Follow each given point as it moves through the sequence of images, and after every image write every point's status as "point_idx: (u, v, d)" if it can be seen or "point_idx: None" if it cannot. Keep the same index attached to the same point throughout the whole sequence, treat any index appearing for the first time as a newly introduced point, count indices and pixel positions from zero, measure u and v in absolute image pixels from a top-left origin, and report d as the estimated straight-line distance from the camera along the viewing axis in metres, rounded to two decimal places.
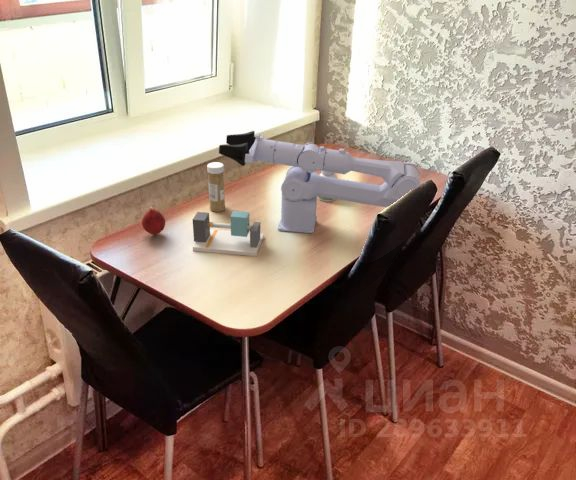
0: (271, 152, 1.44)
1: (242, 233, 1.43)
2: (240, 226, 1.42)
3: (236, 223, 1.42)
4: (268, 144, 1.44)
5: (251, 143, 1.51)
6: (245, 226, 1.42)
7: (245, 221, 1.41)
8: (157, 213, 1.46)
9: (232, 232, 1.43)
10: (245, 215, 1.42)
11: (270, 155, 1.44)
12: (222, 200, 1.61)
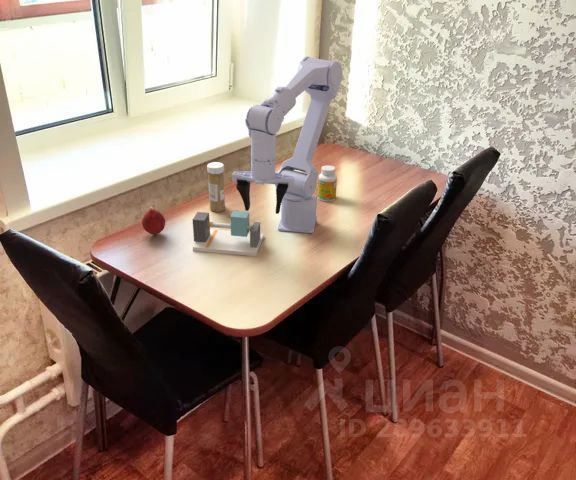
0: (274, 162, 1.33)
1: (242, 233, 1.43)
2: (240, 226, 1.42)
3: (236, 223, 1.42)
4: (268, 168, 1.32)
5: (248, 183, 1.38)
6: (245, 226, 1.42)
7: (245, 221, 1.41)
8: (157, 213, 1.46)
9: (232, 232, 1.43)
10: (245, 215, 1.42)
11: None
12: (222, 200, 1.61)
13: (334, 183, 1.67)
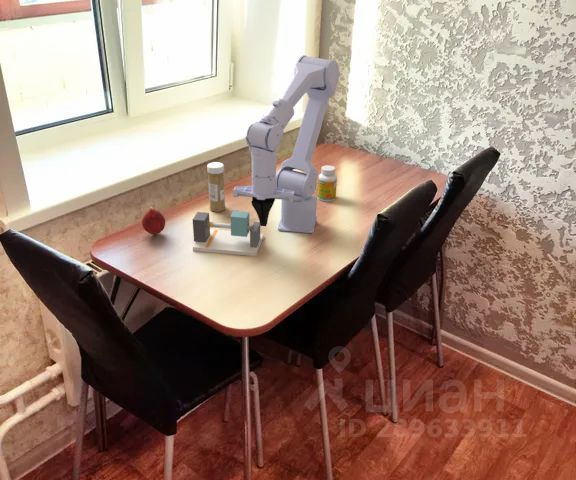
0: (274, 177, 1.35)
1: (242, 233, 1.43)
2: (240, 226, 1.42)
3: (236, 223, 1.42)
4: (269, 184, 1.34)
5: (263, 199, 1.39)
6: (245, 226, 1.42)
7: (245, 221, 1.41)
8: (157, 213, 1.46)
9: (232, 232, 1.43)
10: (245, 215, 1.42)
11: (275, 176, 1.36)
12: (222, 200, 1.61)
13: (334, 183, 1.67)
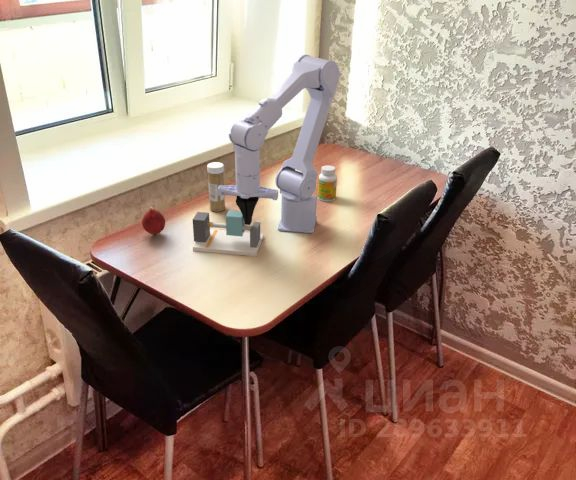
0: (258, 176, 1.36)
1: (237, 233, 1.43)
2: (235, 226, 1.42)
3: (231, 223, 1.42)
4: (252, 183, 1.35)
5: None
6: (240, 226, 1.42)
7: (240, 221, 1.41)
8: (157, 213, 1.46)
9: (227, 232, 1.43)
10: (240, 215, 1.42)
11: (259, 175, 1.36)
12: (222, 200, 1.61)
13: (334, 183, 1.67)
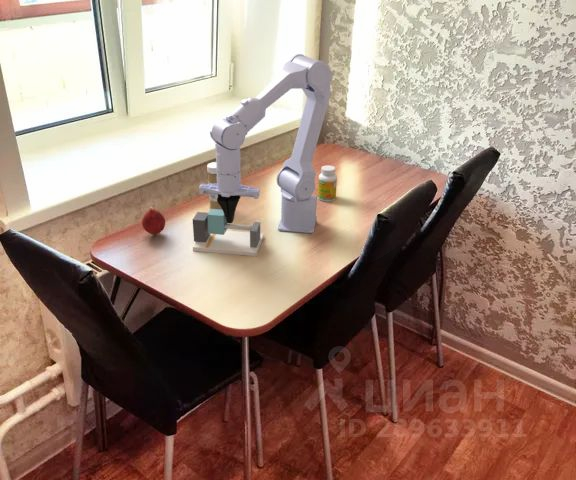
0: (239, 175, 1.36)
1: (219, 231, 1.43)
2: (217, 224, 1.43)
3: (213, 221, 1.42)
4: (233, 181, 1.35)
5: (228, 196, 1.40)
6: (222, 224, 1.42)
7: (222, 219, 1.42)
8: (157, 213, 1.46)
9: (209, 230, 1.44)
10: (222, 213, 1.42)
11: (240, 173, 1.37)
12: None
13: (334, 183, 1.67)
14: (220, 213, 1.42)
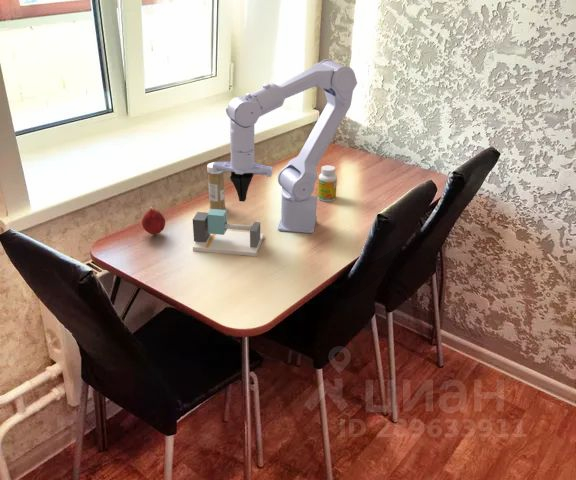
0: (252, 152, 1.38)
1: (219, 231, 1.43)
2: (217, 224, 1.43)
3: (213, 221, 1.42)
4: (247, 159, 1.37)
5: (241, 175, 1.42)
6: (222, 224, 1.42)
7: (222, 219, 1.42)
8: (157, 213, 1.46)
9: (209, 230, 1.44)
10: (222, 213, 1.42)
11: None
12: (222, 200, 1.61)
13: (334, 183, 1.67)
14: (220, 213, 1.42)
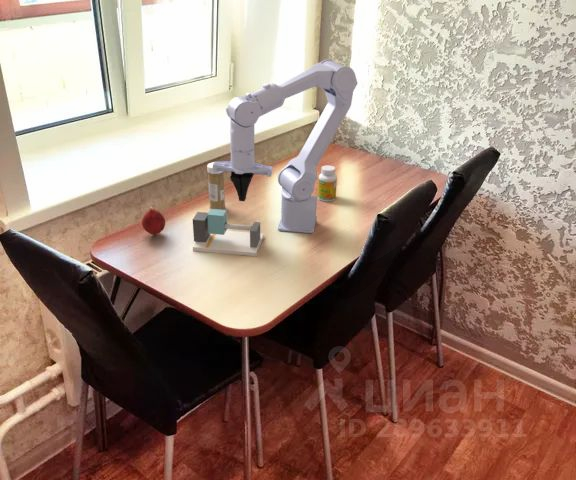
0: (252, 152, 1.38)
1: (219, 231, 1.43)
2: (217, 224, 1.43)
3: (213, 221, 1.42)
4: (247, 158, 1.37)
5: (241, 174, 1.42)
6: (222, 224, 1.42)
7: (222, 219, 1.42)
8: (157, 213, 1.46)
9: (209, 230, 1.44)
10: (222, 213, 1.42)
11: None
12: (222, 200, 1.61)
13: (334, 183, 1.67)
14: (220, 213, 1.42)
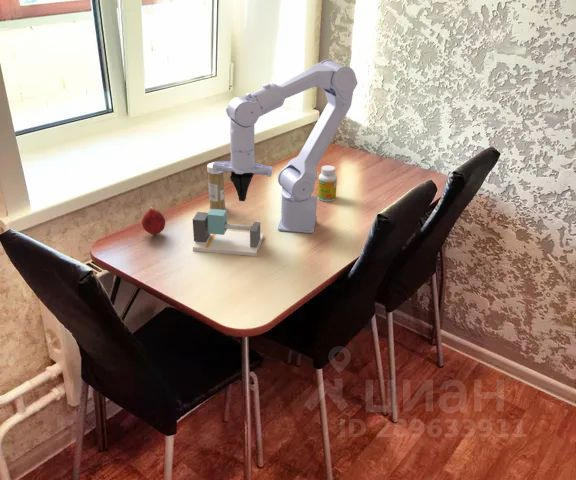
0: (252, 152, 1.38)
1: (219, 231, 1.43)
2: (217, 224, 1.43)
3: (213, 221, 1.42)
4: (247, 158, 1.37)
5: (241, 174, 1.42)
6: (222, 224, 1.42)
7: (222, 219, 1.42)
8: (157, 213, 1.46)
9: (209, 230, 1.44)
10: (222, 213, 1.42)
11: None
12: (222, 200, 1.61)
13: (334, 183, 1.67)
14: (220, 213, 1.42)
